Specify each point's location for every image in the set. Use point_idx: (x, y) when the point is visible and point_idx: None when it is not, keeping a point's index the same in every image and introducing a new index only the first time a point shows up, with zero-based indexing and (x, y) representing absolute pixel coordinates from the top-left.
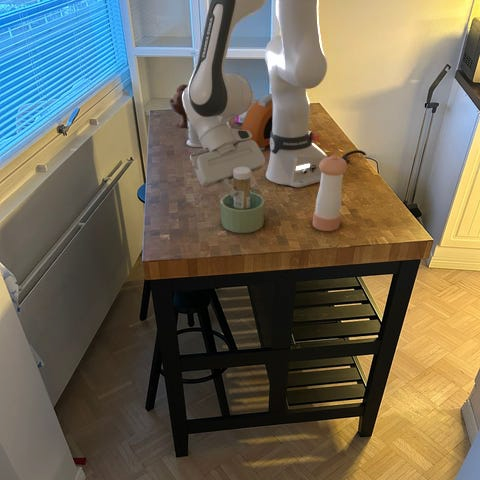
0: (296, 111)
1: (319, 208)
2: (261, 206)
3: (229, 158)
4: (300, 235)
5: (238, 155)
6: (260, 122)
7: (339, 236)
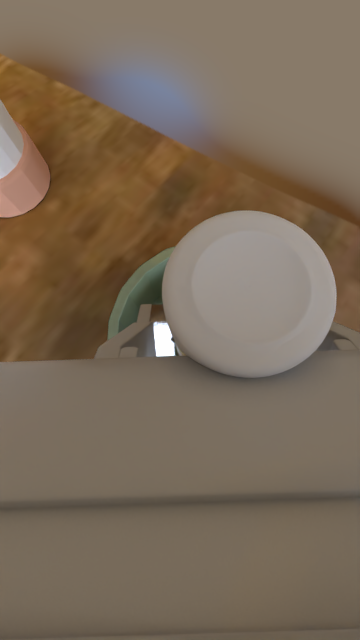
0: None
1: (5, 123)
2: (174, 247)
3: (321, 530)
4: (113, 182)
5: (130, 540)
6: None
7: (36, 121)
